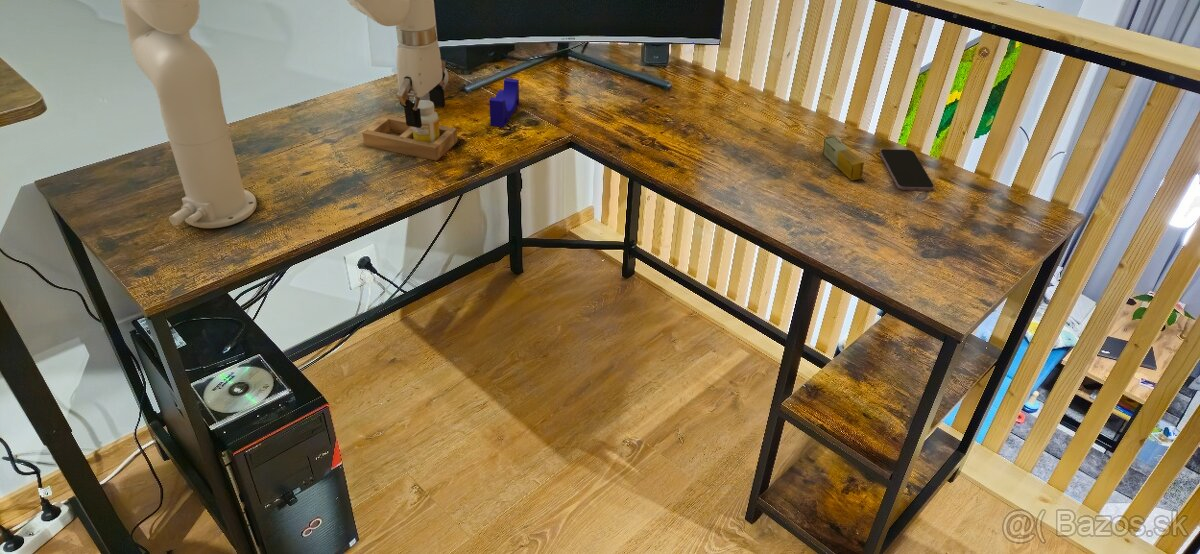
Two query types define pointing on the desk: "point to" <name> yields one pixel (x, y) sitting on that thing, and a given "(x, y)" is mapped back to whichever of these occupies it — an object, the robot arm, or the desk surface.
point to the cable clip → (504, 103)
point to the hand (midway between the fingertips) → (426, 116)
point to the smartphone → (906, 170)
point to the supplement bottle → (427, 123)
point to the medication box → (843, 158)
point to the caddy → (407, 139)
